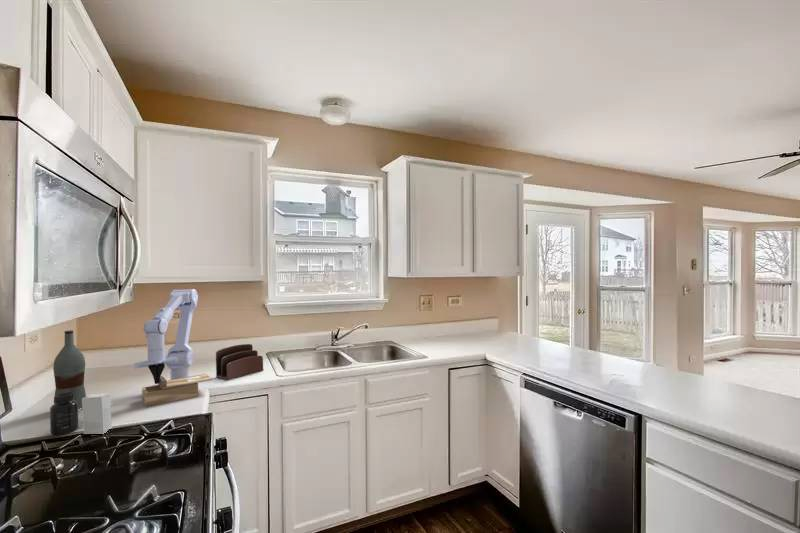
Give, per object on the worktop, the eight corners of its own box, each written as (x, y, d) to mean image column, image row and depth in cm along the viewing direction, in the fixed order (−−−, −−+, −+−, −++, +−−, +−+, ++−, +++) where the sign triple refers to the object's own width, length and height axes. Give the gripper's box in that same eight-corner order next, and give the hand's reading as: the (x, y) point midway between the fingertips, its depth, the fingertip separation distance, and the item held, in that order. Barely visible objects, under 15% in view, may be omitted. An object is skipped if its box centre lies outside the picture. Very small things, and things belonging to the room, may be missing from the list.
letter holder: (215, 378, 182) (215, 348, 183) (252, 368, 199) (251, 342, 199) (227, 380, 177) (226, 350, 177) (263, 370, 193) (263, 343, 193)
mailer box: (142, 399, 152) (142, 387, 152) (192, 389, 163) (191, 378, 163) (146, 406, 143) (145, 393, 143) (198, 395, 155) (198, 383, 155)
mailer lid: (157, 383, 155) (157, 376, 155) (205, 375, 167) (205, 368, 167) (162, 389, 147) (162, 381, 147) (212, 379, 158) (212, 372, 159)
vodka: (46, 414, 138) (45, 333, 139) (67, 406, 147) (65, 329, 148) (73, 413, 139) (72, 332, 139) (92, 404, 148) (90, 328, 148)
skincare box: (112, 429, 122) (111, 392, 122) (103, 435, 117) (102, 396, 118) (92, 431, 121) (91, 393, 122) (81, 437, 117) (81, 398, 117)
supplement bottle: (49, 431, 122) (49, 394, 122) (77, 425, 127) (77, 389, 127) (50, 438, 117) (50, 399, 117) (79, 431, 122) (78, 393, 122)
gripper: (135, 353, 143) (136, 389, 143) (178, 347, 152) (179, 381, 152) (133, 351, 148) (134, 385, 148) (175, 345, 158) (176, 378, 157)
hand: (156, 383), depth 150 cm, fingers closed
